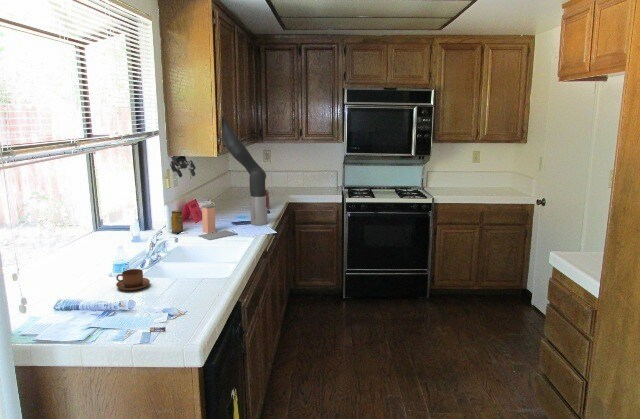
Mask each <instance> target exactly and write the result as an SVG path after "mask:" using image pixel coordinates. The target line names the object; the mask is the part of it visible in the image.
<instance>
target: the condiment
mask: <svg viewBox="0 0 640 419" xmlns="http://www.w3.org/2000/svg"><path fill="white" fill-rule="evenodd" d="M170 218H171V220H170V221H171V231H169V234H170V233H171V234H174V235H178V234H177V233H181V232H183V231H184V233H183V234H187V233H188V231H185V230H184V223H183V221H184V218H183V212H182V210H178V209H177V210H172V211H171V217H170Z"/></svg>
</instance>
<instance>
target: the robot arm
mask: <svg viewBox="0 0 640 419" xmlns="http://www.w3.org/2000/svg"><path fill="white" fill-rule="evenodd" d="M222 137H223V138H222ZM221 138H222V141H223V143H224V146H225V147H226V150H228V152H229V153H230V154H231V155H232V157H233V158H234V159H235V160H236V161H237V162H238V163H239V164H240V165H242V166H243V167H244V168H245V170H246V171H247V173H248V174H249V178H248V180H249V193H250V198H249V199H250V224H251V225H252V226H263V225H266V224H268V209H267V208H266V190H265V187H266V180H267V173H266V172H265V170H264V169H263V168H262V167H261V166H260V165H259V164H258V162H256V160H255V159H254V158H253V156H252V155H251V153H250V151H249V150H248V149H247V147H246V146H245V144H244V143H243V142H242V141H241V140H240V138H239V137H238V136H237V134H236V133H235V132H234V131H233V129H231V127H230V125H229V123H228V122H227V121H226V118H225V117H224V116H222V136H221ZM170 159H171V161H170V163H169V166H170V168H171V170H172V172H173V173H176V174H177V175H178V177H179V178H182V177H183V173H182V171H181V170H183V169H184V170H187V171H189V172H190V174H191V176H192V177H195V176H196V172H195V170H196V166H195V164H194V162H193V160H189V161H188V160H187V159H186V155H185V156H173V157H171V156H170Z"/></svg>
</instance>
